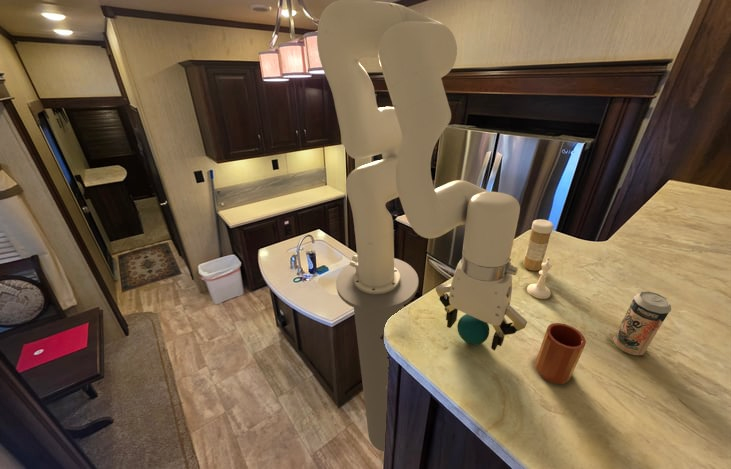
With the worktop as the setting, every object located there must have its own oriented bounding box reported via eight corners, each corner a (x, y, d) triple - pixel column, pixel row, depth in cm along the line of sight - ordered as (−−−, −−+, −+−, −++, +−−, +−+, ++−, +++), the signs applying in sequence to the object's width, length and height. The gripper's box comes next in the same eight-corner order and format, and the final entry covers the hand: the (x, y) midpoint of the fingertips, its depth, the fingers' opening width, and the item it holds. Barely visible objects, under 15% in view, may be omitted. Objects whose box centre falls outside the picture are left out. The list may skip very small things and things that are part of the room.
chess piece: (550, 288, 70) (560, 254, 66) (550, 301, 67) (562, 266, 62) (527, 283, 73) (536, 250, 68) (526, 295, 69) (536, 261, 64)
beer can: (605, 340, 56) (629, 294, 51) (623, 333, 58) (648, 286, 52) (632, 360, 52) (661, 312, 47) (650, 352, 54) (681, 304, 48)
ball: (451, 341, 59) (453, 320, 56) (463, 323, 63) (466, 302, 60) (480, 356, 55) (484, 334, 52) (491, 336, 59) (496, 315, 56)
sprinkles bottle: (529, 259, 81) (540, 217, 74) (545, 268, 77) (558, 223, 71) (518, 265, 79) (529, 221, 73) (533, 273, 76) (546, 228, 69)
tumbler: (531, 372, 52) (543, 337, 47) (539, 352, 55) (551, 318, 51) (566, 390, 49) (582, 354, 44) (572, 367, 52) (588, 332, 48)
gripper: (546, 270, 47) (524, 343, 55) (447, 240, 57) (442, 305, 66) (533, 295, 42) (512, 370, 51) (428, 257, 52) (425, 325, 61)
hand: (472, 333), depth 58 cm, fingers open, 8 cm apart
